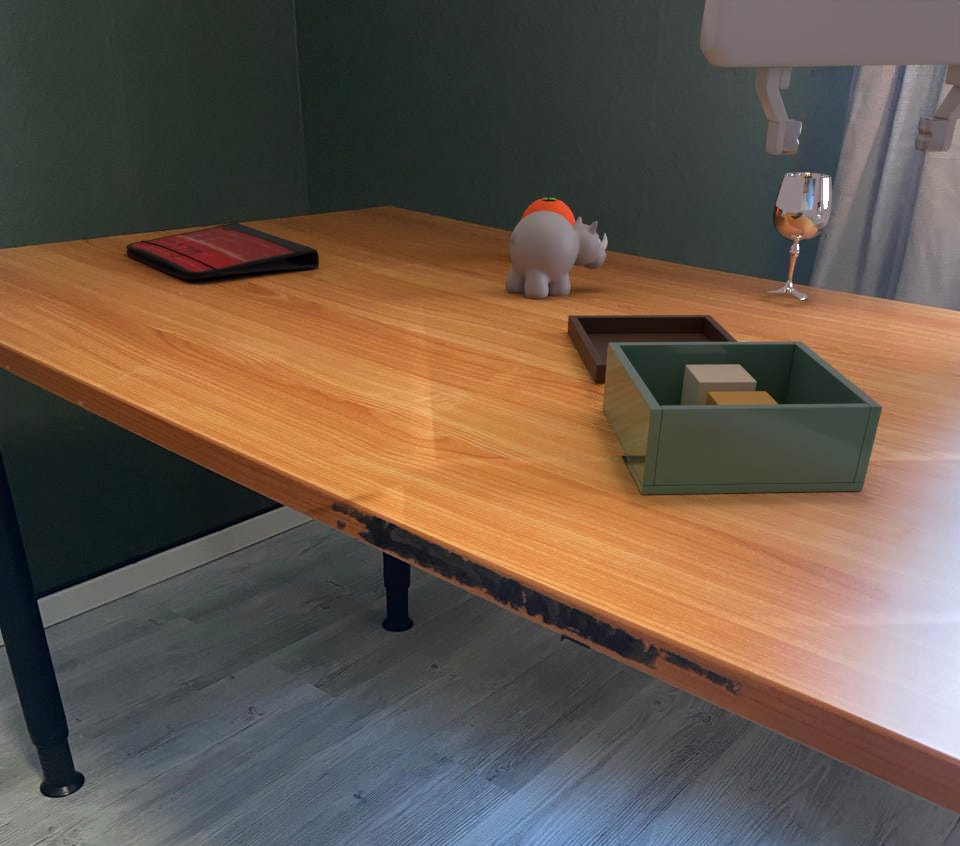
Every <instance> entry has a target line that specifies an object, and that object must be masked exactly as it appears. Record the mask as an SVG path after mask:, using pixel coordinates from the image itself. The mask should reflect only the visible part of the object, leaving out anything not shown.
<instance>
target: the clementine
mask: <svg viewBox="0 0 960 846" xmlns="http://www.w3.org/2000/svg"><path fill="white" fill-rule="evenodd" d="M537 211H551V212H555V213H557V214H559V215H561V216H563V217H564V218H565V219H566V220H567V221H568V222H569V223H570V224H571V225H572V226H574V225H575V223H576V219H575V216H574V213H573V211H572V210H571V208H570V207H569V206H568V205H567V204H566V203H565V202H564V201H562V200H560V199H557V198H556V197H550V196H548V197H543V198H539V199H536V200H535V201H533V202H532V203H531V204H530V205H528V206H527V208H526V209H525V210H524V211H523V214H522V216H521V219H520V221H521V220H522V219H523V218H524V217H526V216H527V215H529V214H531V213H534V212H537Z"/></svg>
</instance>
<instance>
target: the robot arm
mask: <svg viewBox="0 0 960 846" xmlns="http://www.w3.org/2000/svg"><path fill="white" fill-rule="evenodd" d="M699 48H700V51H701V52H702V54H703V56H704V58H705V59H706V61H707V63H708V64H709V65H711V66H714V67H718V68H756V73H755V82H754V89H755V92H756V95H757V98H758V99H759V102H760V105H761V107H762V109H763V112H764V116H765V117H766V119H767V120H768V125H767V132H766V140H765V152H766V154H769V155H772V156H773V155H776V156H777V155H778V156H780V155H781V156H782V155H796V154H797V153H798V151H799V148H800V146H799V145H800V141H799V139H798V138H799V137H800V136H801V134H802V126H803V122H802V121H800V120H797V119H793V118H790V119H789V116H788V113H787V111H786V107H785V104H784V101H783V98H782V94H781V92H780V90H788V89H789V87H790V84H791V77H792V70H793V67H794V68H795V67H855V66H856V67H860V66H861V67H862V66H863V67H865V66H866V67H867V66H868V67H871V66H872V67H873V66H939V65H940V66H946V65H947V71H946V75H945V79H944V83H945V85H949V86H952V87H951V88H950V90H949V91H948V93H947V95H946V96H945V97H944V99H943V100H942V102H941V103H940V105H939V106H938V107H937V109H936V111H935V112H934V114H933V115H932V116H922V117H920V118H919V123H918V126H917V131H918V134H917V135H916V137H915V142H914V147H915V150H916V151H921V152H926V153H927V152H928V153H939V152H943V153H944V152H945V153H946V152H948V151H949V150H950V149H951V146H952V144H953V143H952V142H953V139H954V135H955V130H956V127H957V126H956V125H957V121H958V120H960V0H705V4H704V8H703V16H702V21H701V28H700V37H699Z"/></svg>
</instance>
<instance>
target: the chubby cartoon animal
mask: <svg viewBox="0 0 960 846" xmlns="http://www.w3.org/2000/svg"><path fill="white" fill-rule="evenodd" d="M575 221H576V223H575V225H574V226H572V225H571V224H570V223H569V222H568V221H567V220H566V219H565V218H564V217H563V216H561V215H559V214H557V213H555V212H551V211H537V212H534V213H531V214H529V215H527V216H526V217H524V218H523V219H522V220H521V219H520V221H519V222H518V223H517V224H516V225H515V227H514V229H513V231H512V233H511V236H510V239H509V243H508V245H509V246H508V249H509V250H508V251H509V253H508V254H509V258H510V262H511V268H510V270H509V272H507V273H508V274H507V275H506V276H507V277H506V280H505V286H504V287H505V291H506V292H507V293H509V294H524V296H525V298H527V299H531V300H542V299H545V298H547V297H548V296H555V297H564V296H569V295H570V294H571V280H570V275H569V273H570V272H571V270H572V269H573V267H574V266H578V267H579V266H581V267H582V266H583V267H585V268H586V269H588V270H596V269H599V268H600V267H602V265H603V264H604V262H605V260H606V258H607V253H606V250H607V246H608V237H607V234H606V232H604V234H603V238H602V239H601V238H600V234H598V232H597V228H598V223H599V222H598V220H595V221H593V222H592V223H591V224H590V225H588V224H585V223H583V218H582V217H581V216H578V217H577V219H575Z"/></svg>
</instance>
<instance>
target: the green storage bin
mask: <svg viewBox="0 0 960 846" xmlns="http://www.w3.org/2000/svg"><path fill="white" fill-rule="evenodd" d="M721 364H739V365H741V366H742V367H743V368H744V369H745V370H746V371H747V372H748V373H749V375H750V376H751V377H752V378H753V379H754V380H755V381H756V388H755V391H766V392H767V393H768V394H769V395H770V396H771V397H772V398H773V399H774V400H775V401H776V402H777V403H778V404H770V405H681V397H682V389H683V381H684V373H685V366H686V365H721ZM882 409H883V406H882V405H881V404H880V403H878V402H877V401H876V400H874V398H872V397H871V396H869V394H867V393H866V392H865V391H864V390H862V389H861V388H860V387H858V386H857V385H856V384H855V383H853V382H852V381H851V380H850V379H848V378H847V377H846V376H845V375H844V374H842V373H841V372H840V371H839V370H838V369H836V368H835V366H833V365H831V364H830V363H829V362H828V361H826V359H824V358H823V357H821V356H820V355H819V354H818V353H817V352H815V351H814V350H813V349H812V348H810V347H809V346H808V345H806V344H805V342H803V341H801V340H798V341H797V340H795V341H787V340H786V341H782V340H781V341H738V342H619V343H617V342H609V343H608V351H607V363H606V375H605V384H604V388H603V400H602V412H603V414H604V416H605V418H606V419H607V422H608V424H609V425H610V427H611V429H612V431H613V433H614V435H615V436H616V439H617V441H618V442H619V445H620V446H621V448H622V451H623V452H624V454H625V455H622V457H621V458H622V459H623V460H624V463H625V465H626V467H627V468H628V471H629V473H630V474H631V476H632V478H633V480H634V481H635V484H636V486H637V489H638V490H639V492H640V494H641V495H645V496H646V495H647V496H648V495H698V494H699V495H702V494H704V495H705V494H707V495H708V494H759V493H764V494H765V493H766V494H767V493H817V492H818V493H821V492H822V493H823V492H825V493H826V492H829V493H830V492H862V491H863V490H864V485H865V482H866V477H867V473H868V469H869V465H870V461H871V456H872V452H873V447H874V444H875V439H876V435H877V431H878V426H879V422H880V418H881V414H882V411H883V410H882Z"/></svg>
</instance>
